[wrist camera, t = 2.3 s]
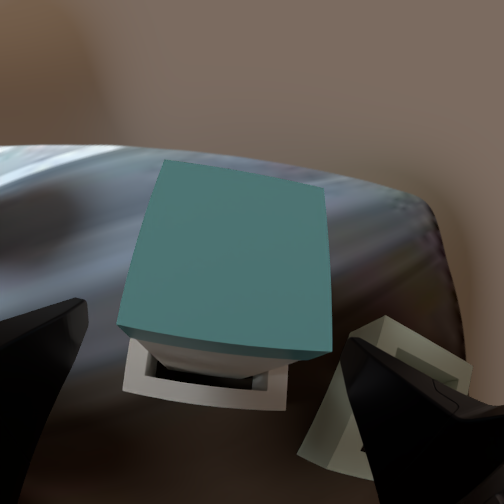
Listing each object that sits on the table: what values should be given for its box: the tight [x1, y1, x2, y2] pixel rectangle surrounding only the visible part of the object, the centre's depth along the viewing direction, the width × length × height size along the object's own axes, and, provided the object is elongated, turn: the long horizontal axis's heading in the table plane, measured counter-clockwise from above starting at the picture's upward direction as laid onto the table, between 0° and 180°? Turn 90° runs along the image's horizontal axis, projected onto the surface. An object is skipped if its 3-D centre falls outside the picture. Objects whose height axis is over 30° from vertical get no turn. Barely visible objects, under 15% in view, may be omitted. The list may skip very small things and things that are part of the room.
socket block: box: [296, 315, 473, 481], centre depth 15 cm, size 10×10×4 cm
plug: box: [116, 160, 332, 379], centre depth 12 cm, size 5×5×12 cm
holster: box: [122, 338, 288, 411], centre depth 16 cm, size 8×8×4 cm
